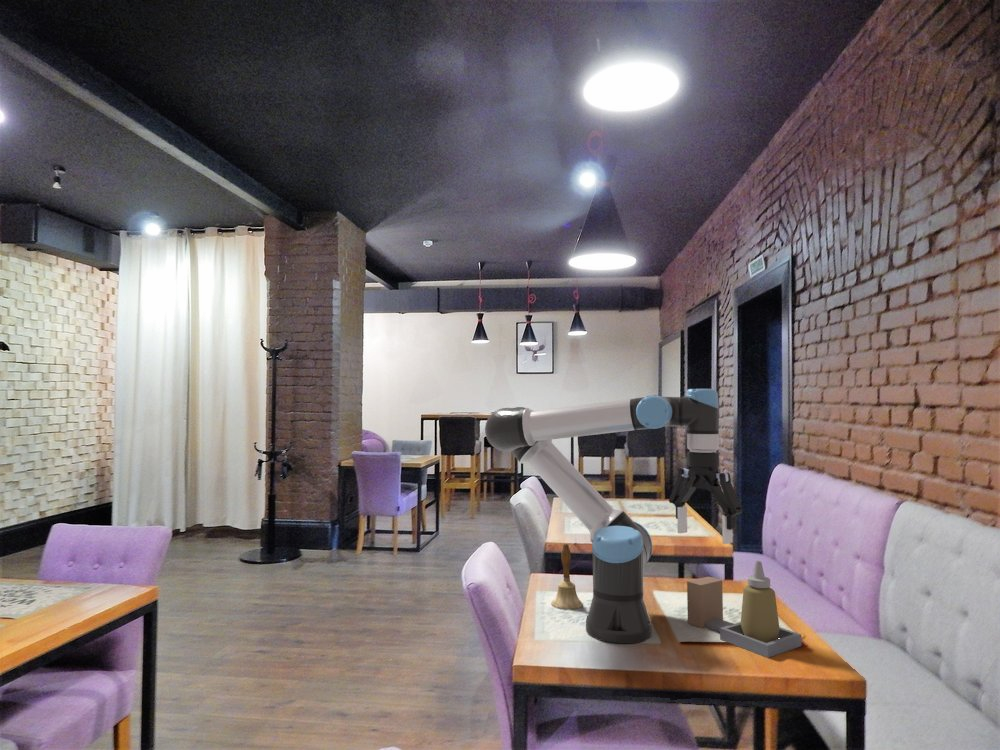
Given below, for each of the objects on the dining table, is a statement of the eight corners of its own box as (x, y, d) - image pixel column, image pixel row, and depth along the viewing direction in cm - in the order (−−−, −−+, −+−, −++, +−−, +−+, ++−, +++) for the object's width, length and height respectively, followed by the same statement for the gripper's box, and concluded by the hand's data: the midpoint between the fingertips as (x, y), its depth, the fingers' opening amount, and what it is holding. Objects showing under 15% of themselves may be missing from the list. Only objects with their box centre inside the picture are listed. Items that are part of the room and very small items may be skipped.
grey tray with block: (682, 624, 146) (681, 582, 147) (714, 615, 153) (714, 575, 153) (767, 657, 127) (766, 609, 127) (801, 646, 133) (800, 599, 134)
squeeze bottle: (738, 646, 133) (737, 563, 134) (742, 634, 140) (741, 555, 141) (779, 653, 130) (777, 568, 131) (781, 640, 137) (779, 559, 138)
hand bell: (572, 611, 156) (572, 549, 157) (545, 605, 161) (545, 544, 162) (588, 603, 163) (587, 543, 164) (561, 597, 168) (561, 539, 168)
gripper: (757, 453, 141) (758, 545, 140) (674, 447, 163) (675, 527, 161) (736, 455, 137) (738, 549, 136) (654, 448, 159) (655, 530, 157)
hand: (704, 537), depth 149 cm, fingers open, 13 cm apart
